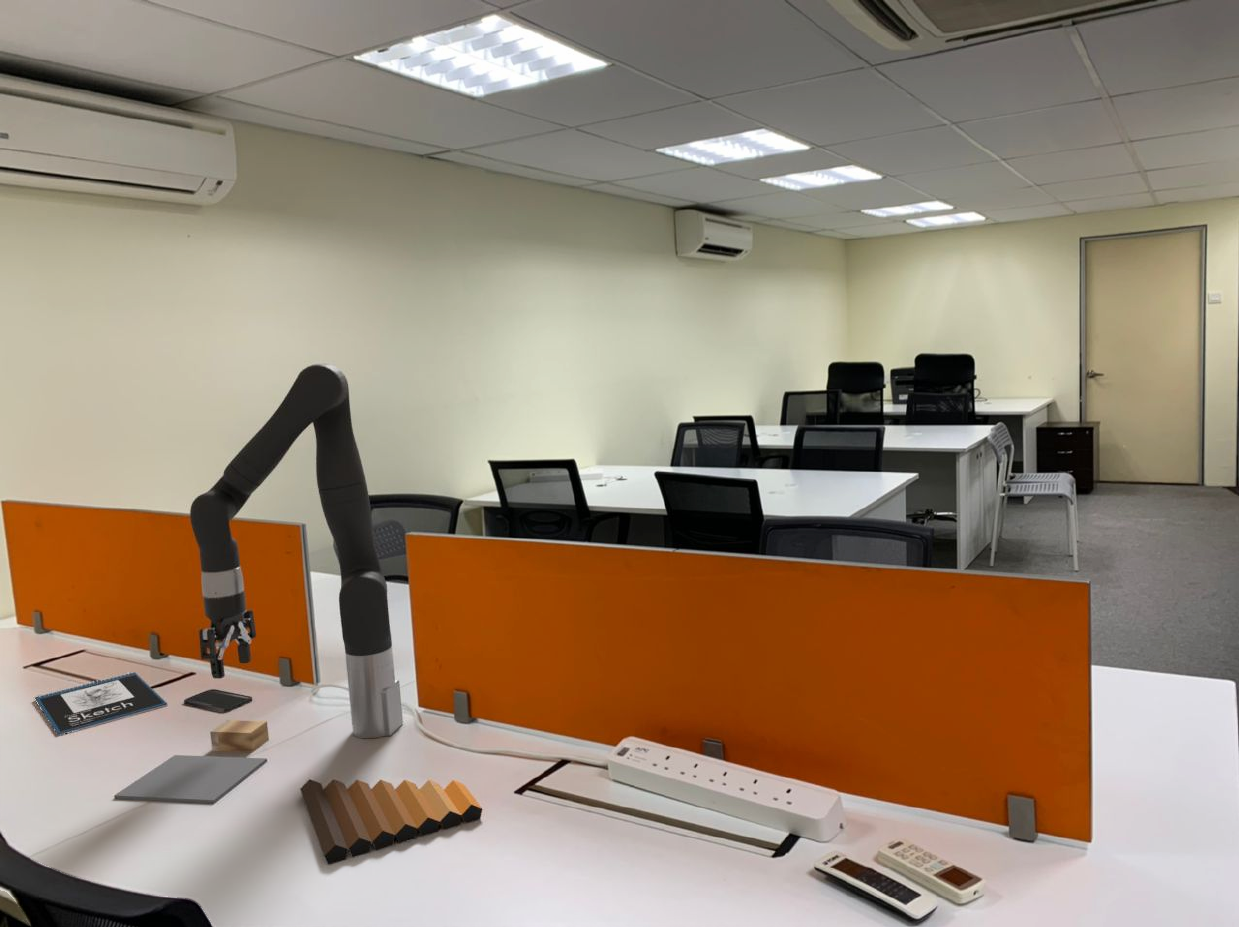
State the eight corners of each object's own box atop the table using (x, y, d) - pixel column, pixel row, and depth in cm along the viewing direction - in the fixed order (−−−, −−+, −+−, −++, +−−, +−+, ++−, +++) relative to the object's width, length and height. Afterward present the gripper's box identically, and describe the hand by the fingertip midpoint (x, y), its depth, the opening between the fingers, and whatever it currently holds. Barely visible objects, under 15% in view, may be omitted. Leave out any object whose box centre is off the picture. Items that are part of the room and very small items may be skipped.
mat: (267, 761, 170) (266, 758, 170) (214, 803, 154) (213, 800, 154) (175, 757, 174) (174, 754, 174) (114, 798, 158) (114, 795, 158)
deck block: (269, 740, 180) (266, 721, 179) (252, 752, 175) (250, 732, 174) (229, 738, 182) (227, 720, 181) (212, 750, 176) (210, 731, 176)
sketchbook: (58, 739, 188) (57, 730, 188) (34, 703, 210) (33, 694, 210) (168, 708, 202) (166, 699, 202) (134, 676, 224) (133, 669, 224)
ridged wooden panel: (301, 799, 155) (325, 869, 133) (299, 781, 155) (323, 848, 133) (439, 762, 166) (483, 820, 144) (438, 745, 166) (481, 801, 144)
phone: (211, 688, 209) (254, 697, 202) (212, 693, 210) (254, 701, 202) (181, 700, 203) (224, 709, 195) (181, 705, 203) (225, 714, 195)
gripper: (217, 600, 167) (227, 683, 169) (261, 581, 180) (269, 658, 182) (182, 600, 168) (192, 682, 170) (228, 581, 182) (237, 657, 184)
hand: (232, 669), depth 176 cm, fingers open, 8 cm apart
